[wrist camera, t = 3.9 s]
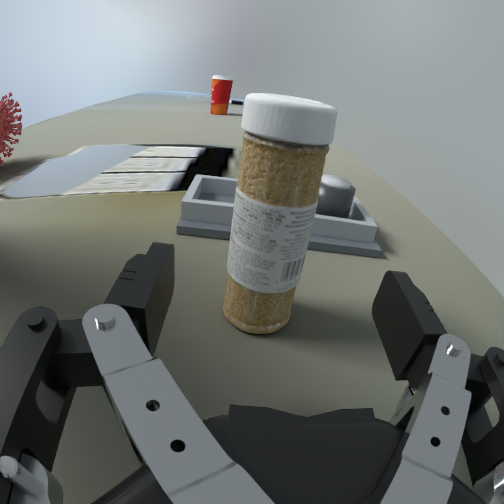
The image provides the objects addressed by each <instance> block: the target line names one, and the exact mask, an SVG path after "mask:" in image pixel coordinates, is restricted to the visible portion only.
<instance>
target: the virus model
mask: <svg viewBox="0 0 504 504" xmlns="http://www.w3.org/2000/svg"><path fill="white" fill-rule="evenodd" d="M10 96H12V93H11V92H10V93H9V97H10ZM3 98H4V99H5V98H7V95H5V97H4V96H3V97H2V99H3ZM4 99H3V100H1V101H2V102H1V101H0V153H2V152H3V154H4V157H6V156H7V153H8V157H9V156H11V154H12V153H9V152H11V150H12V151H13V150H14V148H12V149H10V148H8V147H9V146H8V145H7V144H6V143H5V142H4V141H3V140H5V141H9V142H10V141H11V140H9V139H13V138H11V137H10V136H8V135H10V133H12V134H13V135H14V136H15V135H17V134H18V135H21V129H22V124H21V123H18V124H19V125H18V124H10V123H13V122H15V121H14V120H15V119H18V120H17V121H21V118H22V115H19V116H17V115H16V116H15V117H14V116H12V115H14V113H16V112H21V108H20V109H19V110H18V109H17V108H15V109H14V110H13V111H12V112H9V111H10V110H12V109H13V107H17V106H19V104H18V102H16V103H15V105H14V106H12V105H13V104H14V103H13V102H14V100H13V99H11V100H9V99H8V104H7V103H6V101H7V99H6V100H5V101H4ZM3 101H4V102H3ZM5 103H6V104H7V105H6V104H5ZM5 105H6V106H5ZM8 105H9V106H8ZM7 106H8V107H10V106H12V107H10V108H8V107H7ZM6 107H7V108H6ZM8 112H9V113H8ZM8 117H9V118H8ZM8 124H9V125H8ZM13 125H14V126H13ZM13 128H18V129H13ZM14 130H16V131H15V132H13V131H14ZM18 131H20V132H19V133H18ZM7 138H8V139H7ZM13 140H15V141H16V142H17V143H18V141H19V139H13ZM15 141H14V144H15ZM12 142H13V141H12ZM12 142H10V143H11V144H13V143H12ZM6 146H8V147H7V148H8V149H9V152H7V150H8V149H6V150H5V148H6ZM4 151H6V152H7V153H4ZM3 162H4V161H3V160H1V157H0V164H1V163H3Z"/></svg>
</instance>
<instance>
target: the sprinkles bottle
mask: <svg viewBox="0 0 504 504" xmlns="http://www.w3.org/2000/svg"><path fill="white" fill-rule="evenodd" d="M336 118H337V111H336V109H335V108H334V107H332V106H330V105H326V104H323V103H321V102H317V101H313V100H309V99H304V98H298V97H292V96H286V95H279V94H270V93H251V94H248V95H247V96H246V98H245V103H244V109H243V117H242V125H241V127H242V129H244V130H245V132H244V134H243V146H242V156H241V162H240V173H239V178H238V185H237V187H236V193H235V201H234V210H233V218H232V226H231V236H230V245H229V255H228V265H227V268H228V276H227V286H226V294H225V298H224V301H223V311H224V314H225V317H226V318H227V319H228V320H229V321H230V322H231V323H232V324H233V325H234V326H236V327H237V328H239V329H241V330H243V331H245V332H249V333H257V334H265V333H273V332H275V331H278V330H279V329H281V328H282V327H284V326H285V325H286V324H287V323H288V321H289V319H290V316H291V305H292V302H293V298H294V293H295V289H296V286H297V283H298V281H299V279H300V275H301V271H302V267H303V263H304V259H305V255H306V251H307V247H308V243H309V239H310V235H311V230H312V226H313V222H314V218H315V213H316V209H317V204H318V194H319V188H320V184H321V179H322V173H323V168H324V163H325V156H326V154H327V153H328V151H329V148H330V147H329V146H328V145H329V144H331V143H332V141H333V136H334V131H335V125H336Z"/></svg>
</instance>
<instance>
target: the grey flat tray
mask: <svg viewBox="0 0 504 504" xmlns="http://www.w3.org/2000/svg"><path fill="white" fill-rule="evenodd" d="M237 185H238V179H233V178H224V177H215V176H205V175H196V176H195V178H194V180H193V182H192V183H191V185H190V187H189V189H188V191H187V192H186V194H185V196H184V198H183V200H182V205H181V218H180V220H179V222H178V224H177V234H185V235H193V236H202V237H211V238H220V239H228V240H230V236H231V226H232V218H233V210H234V201H235V193H236V187H237ZM354 194H355V188H354V187H353V186H351V183H350V182H349V181H348V180H346V179H343V178H341V177H337V176H333V175H322V179H321V184H320V188H319V194H318V204H317V209H316V213H315V218H314V222H313V226H312V230H311V235H310V239H309V243H308V247H307V249H312V250H321V251H329V252H337V253H345V254H353V255H361V256H369V257H377V258H380V256H381V254H382V249H381V248H380V246H379V244H378V243H377V241H376V240H375V235H376V232H377V228H378V226H377V225H376V223H375V222H374V221H373V219H372V218H371V216H370V215H369V214H368V212H367V211H366V210H365V208H364V207H363V206H362V204H361V203H360V201H359V200H358V199H357V197H356V196H354Z"/></svg>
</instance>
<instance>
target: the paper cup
mask: <svg viewBox="0 0 504 504" xmlns="http://www.w3.org/2000/svg"><path fill="white" fill-rule="evenodd" d="M232 82H233V77H230V76H218V75H213V78H212V95H211V114H217V115H226V114H227V109H228V104H229V99H230V93H231V88H232Z"/></svg>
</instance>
